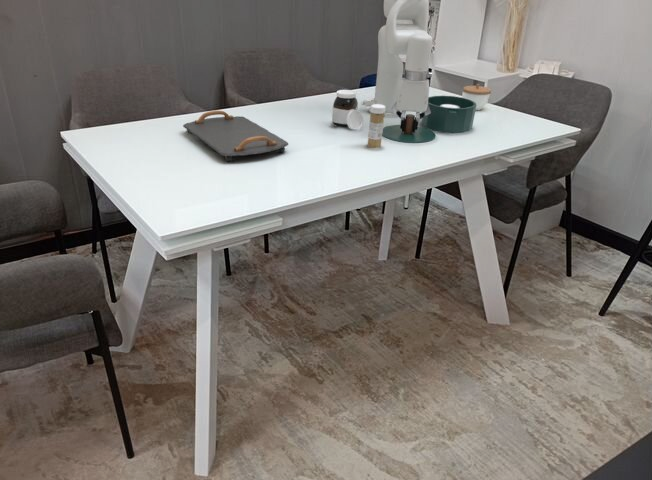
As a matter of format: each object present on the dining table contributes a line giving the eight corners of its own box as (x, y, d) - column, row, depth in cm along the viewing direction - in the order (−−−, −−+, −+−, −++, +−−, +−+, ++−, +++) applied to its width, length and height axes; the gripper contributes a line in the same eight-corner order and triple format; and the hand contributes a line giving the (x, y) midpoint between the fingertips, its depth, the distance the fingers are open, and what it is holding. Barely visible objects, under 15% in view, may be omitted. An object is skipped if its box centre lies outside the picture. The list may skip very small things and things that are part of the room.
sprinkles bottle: (375, 144, 179) (380, 103, 172) (383, 149, 176) (388, 106, 169) (364, 146, 178) (368, 104, 171) (371, 150, 174) (376, 108, 167)
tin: (422, 134, 190) (426, 108, 185) (420, 116, 209) (423, 92, 204) (474, 138, 187) (480, 112, 183) (467, 119, 207) (472, 95, 202)
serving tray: (179, 130, 187) (177, 112, 184) (240, 121, 197) (239, 104, 194) (226, 167, 159) (226, 146, 155) (295, 154, 169) (295, 135, 166)
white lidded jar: (454, 105, 224) (459, 81, 219) (478, 104, 227) (482, 81, 222) (468, 112, 215) (472, 88, 211) (492, 111, 218) (497, 87, 213)
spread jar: (339, 120, 202) (341, 87, 196) (368, 124, 198) (371, 91, 192) (326, 128, 193) (328, 94, 187) (357, 133, 189) (360, 99, 183)
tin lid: (379, 142, 181) (381, 121, 178) (380, 126, 197) (383, 106, 193) (436, 146, 179) (440, 125, 175) (433, 129, 195) (436, 109, 191)
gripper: (440, 74, 180) (431, 129, 189) (390, 71, 182) (384, 126, 191) (442, 79, 173) (433, 136, 183) (390, 76, 175) (383, 132, 185)
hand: (408, 130), depth 187 cm, fingers closed on tin lid, 3 cm apart
